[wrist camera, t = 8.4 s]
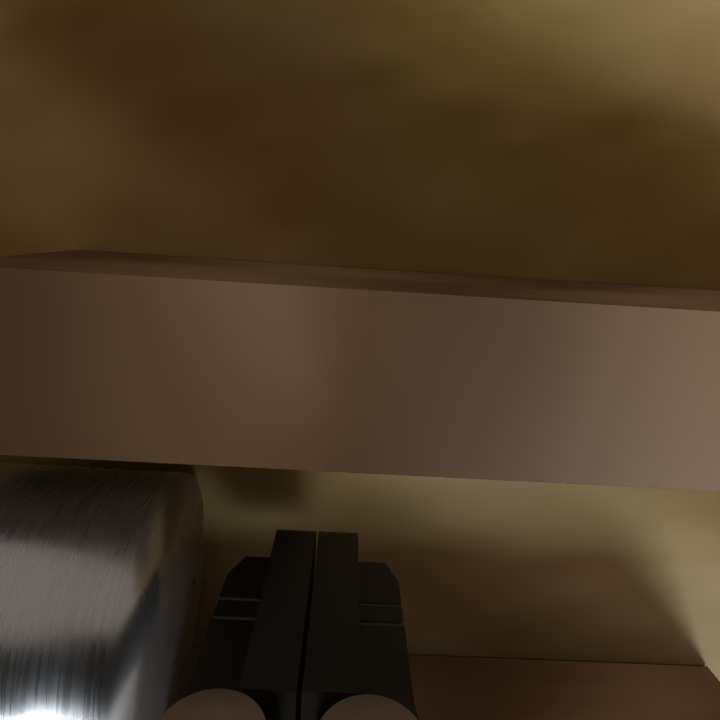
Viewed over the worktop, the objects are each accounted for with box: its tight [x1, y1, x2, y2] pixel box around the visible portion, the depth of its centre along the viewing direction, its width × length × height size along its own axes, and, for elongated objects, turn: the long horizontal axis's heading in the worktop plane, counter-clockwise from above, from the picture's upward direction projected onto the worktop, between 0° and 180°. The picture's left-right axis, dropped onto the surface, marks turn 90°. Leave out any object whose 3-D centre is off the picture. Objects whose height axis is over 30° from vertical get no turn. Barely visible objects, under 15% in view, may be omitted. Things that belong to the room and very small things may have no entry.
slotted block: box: [0, 250, 720, 720], centre depth 10 cm, size 14×11×4 cm
